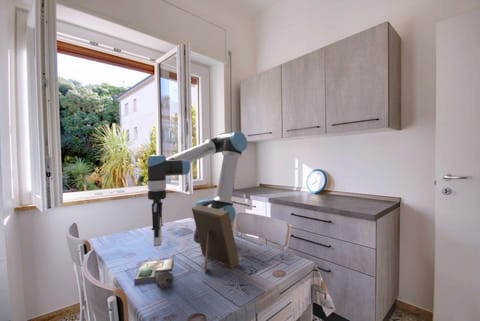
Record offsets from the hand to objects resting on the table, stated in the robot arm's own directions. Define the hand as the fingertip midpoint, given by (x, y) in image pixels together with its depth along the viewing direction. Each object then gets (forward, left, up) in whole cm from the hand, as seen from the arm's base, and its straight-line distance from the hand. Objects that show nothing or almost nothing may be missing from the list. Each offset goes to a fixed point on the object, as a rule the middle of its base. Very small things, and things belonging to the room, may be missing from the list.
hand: (157, 242), depth 99 cm
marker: (0, 0, -1) cm, 1 cm away
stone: (-4, +15, -11) cm, 19 cm away
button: (+3, +9, -11) cm, 14 cm away
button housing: (+3, +9, -11) cm, 14 cm away
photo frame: (-23, +2, -11) cm, 26 cm away
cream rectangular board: (+1, 0, -11) cm, 11 cm away
